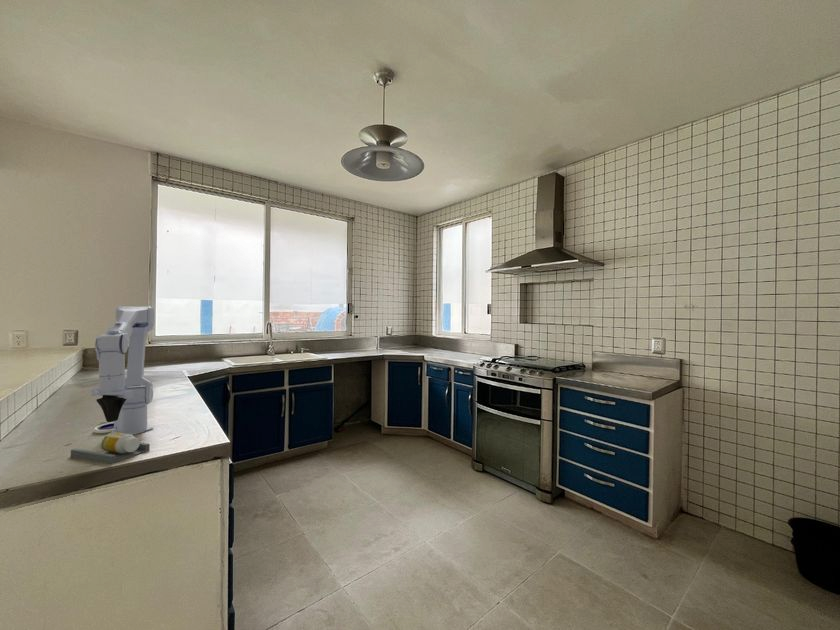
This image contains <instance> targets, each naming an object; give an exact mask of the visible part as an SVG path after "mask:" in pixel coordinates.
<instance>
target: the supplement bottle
mask: <svg viewBox="0 0 840 630" xmlns="http://www.w3.org/2000/svg"><path fill="white" fill-rule="evenodd" d="M140 443H141V442H140V439H138V438H137V437H135V436H134V435H130V434H123V433H117V432H113V433H111V432H108V433H107V434H106V435H104V437H103V438H102V439H101V442H100V448H101V450H102V451H105V452H114V453H120V454H124V453H128V452H134V451H135V450H137V448H138V447H139V445H140Z"/></svg>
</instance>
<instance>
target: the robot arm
mask: <svg viewBox="0 0 840 630" xmlns="http://www.w3.org/2000/svg"><path fill="white" fill-rule="evenodd" d="M115 320H116V321H115V322H113V323H112V324H111V325H110V326H109V327H108V328H107V330H106V332H105V333H104V334H101V335H100V336H96V338H95V342H94V349H95V353H96V360H97V361H98V387H96V388H91V396H94V397H95V396H102V397H99V398H97V399H96V402H97V404H98V405H99V407H100V408H101V410H102V412H103V414H104V418H105V421H106V423H112V422H113V431H111V432H110V433H113V432H117V433H123V434H130V435H133V436H134V435H137V434H141V433H144V432H147V431H150V430H153V429H154V427H152V426H148V405H149V404H150V403H152V402H153V398H154V389H153V382H152V381H151V380H149V379H147V378H146V377H144V372H145V359H146V357H145V356H146V341H147V335H148V332H151V331H153V330H154V325H155V324H154V323H155V310H154V308H153V307H152V306H150V305H149V306H122V305H119V306H117V308H116V310H115ZM127 351H128V352H127ZM126 353H127V366H126V367H125V365H126V364H125V363H126V361H125V360H126V359H125V358H126V355H125V354H126ZM125 369H126V370H125ZM125 372H126V373H125ZM125 377H126V378H125Z"/></svg>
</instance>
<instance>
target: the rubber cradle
mask: <svg viewBox="0 0 840 630" xmlns="http://www.w3.org/2000/svg"><path fill="white" fill-rule="evenodd" d="M150 447H151V446H150V443H146V442H140V445H139V447H138V448H137V450H135V451H134V452H128V453H124V454H120V453H114V452H109V451H105V452H98V451H91V450H88V449H87V450H86V449H80V448H73V449H70V458H75V459H82V460H87V461H91V462H92V461H93V462H99V463H105V464H109V463H111V464H110V465H113V464H115V463H118V461H119V462H121V461H124V460H126V459H129V458H132V457H135V456H138V455H140V453H141V454H144V453H146V451H147V452H149V451H150V449H151V448H150ZM148 450H149V451H148ZM143 452H144V453H143ZM112 463H113V464H112Z"/></svg>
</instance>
